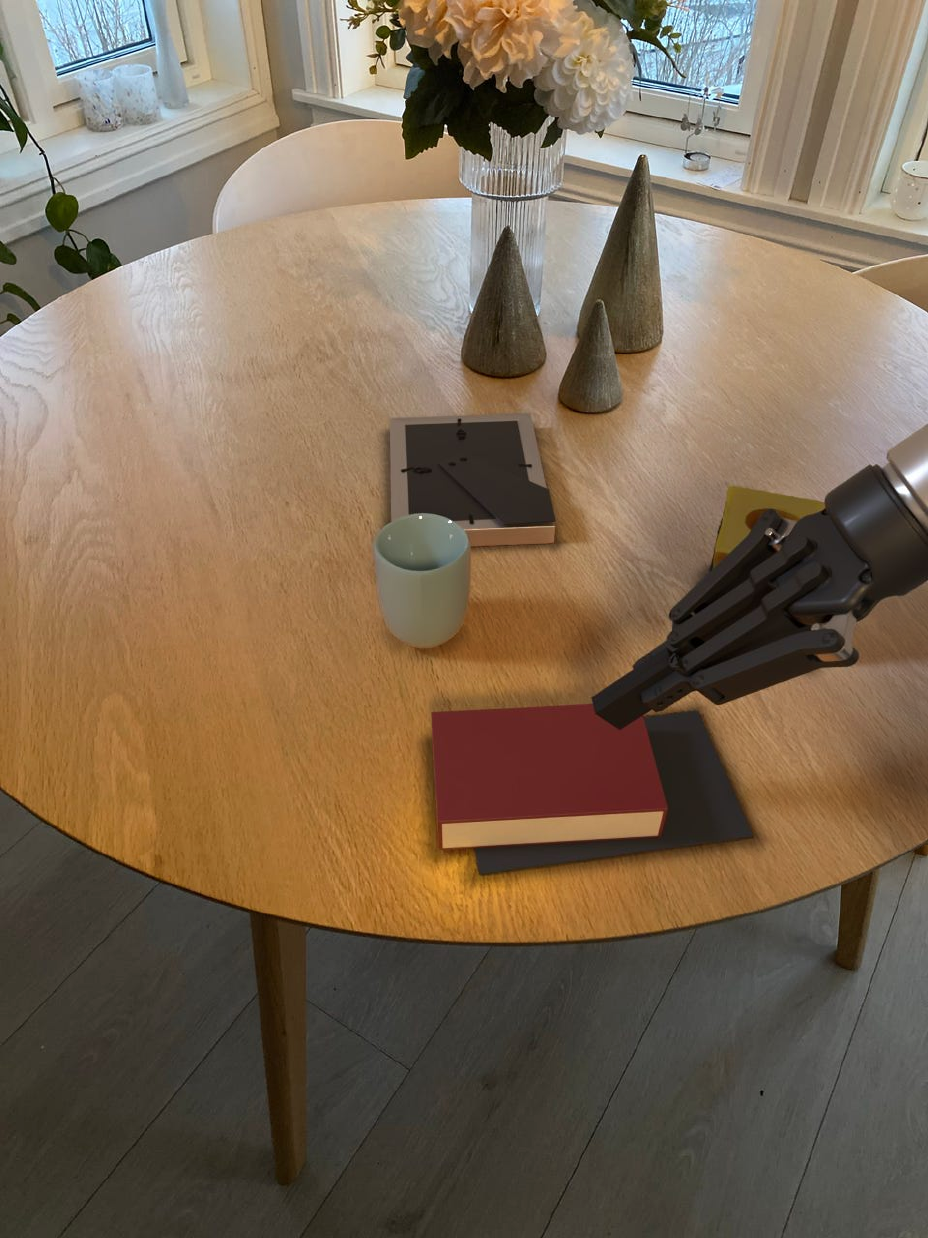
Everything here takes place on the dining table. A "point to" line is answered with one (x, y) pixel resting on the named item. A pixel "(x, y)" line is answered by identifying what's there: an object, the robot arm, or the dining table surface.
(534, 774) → the book
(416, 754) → the dining table surface
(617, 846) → the mat
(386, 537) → the cup
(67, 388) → the dining table surface
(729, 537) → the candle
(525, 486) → the picture frame
